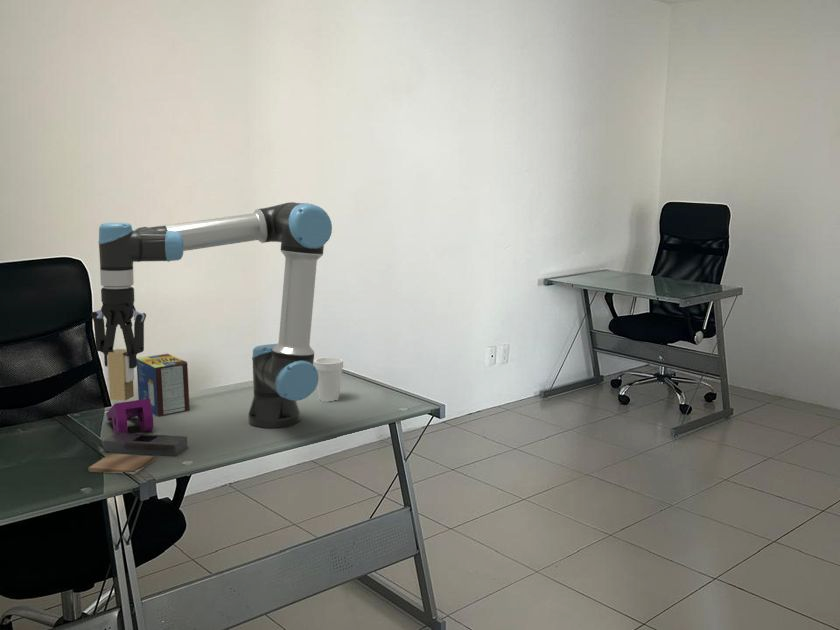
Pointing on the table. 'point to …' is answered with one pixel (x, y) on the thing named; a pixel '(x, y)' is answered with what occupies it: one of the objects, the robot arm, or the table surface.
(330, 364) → the foam cup
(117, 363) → the square peg
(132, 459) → the walnut pad
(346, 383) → the table surface
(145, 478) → the table surface
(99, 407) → the table surface
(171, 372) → the protein box
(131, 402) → the mounting bracket
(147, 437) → the rail
